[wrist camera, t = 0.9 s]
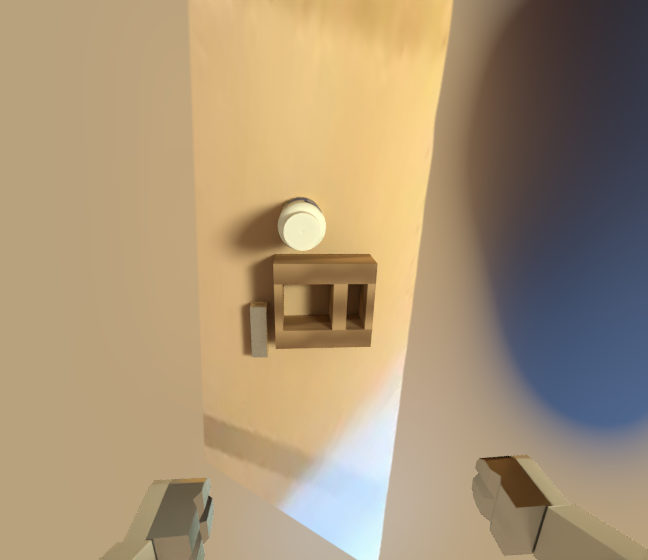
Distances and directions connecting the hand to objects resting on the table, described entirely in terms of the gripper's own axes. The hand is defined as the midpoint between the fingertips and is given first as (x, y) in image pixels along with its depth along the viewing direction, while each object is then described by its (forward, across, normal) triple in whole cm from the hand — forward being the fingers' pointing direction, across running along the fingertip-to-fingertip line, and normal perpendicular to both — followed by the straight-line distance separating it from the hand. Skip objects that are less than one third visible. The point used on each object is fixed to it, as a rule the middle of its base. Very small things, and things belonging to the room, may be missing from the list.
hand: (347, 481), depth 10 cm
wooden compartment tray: (+36, -2, +7) cm, 37 cm away
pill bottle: (+36, +1, -4) cm, 36 cm away
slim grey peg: (+36, +7, +12) cm, 39 cm away
